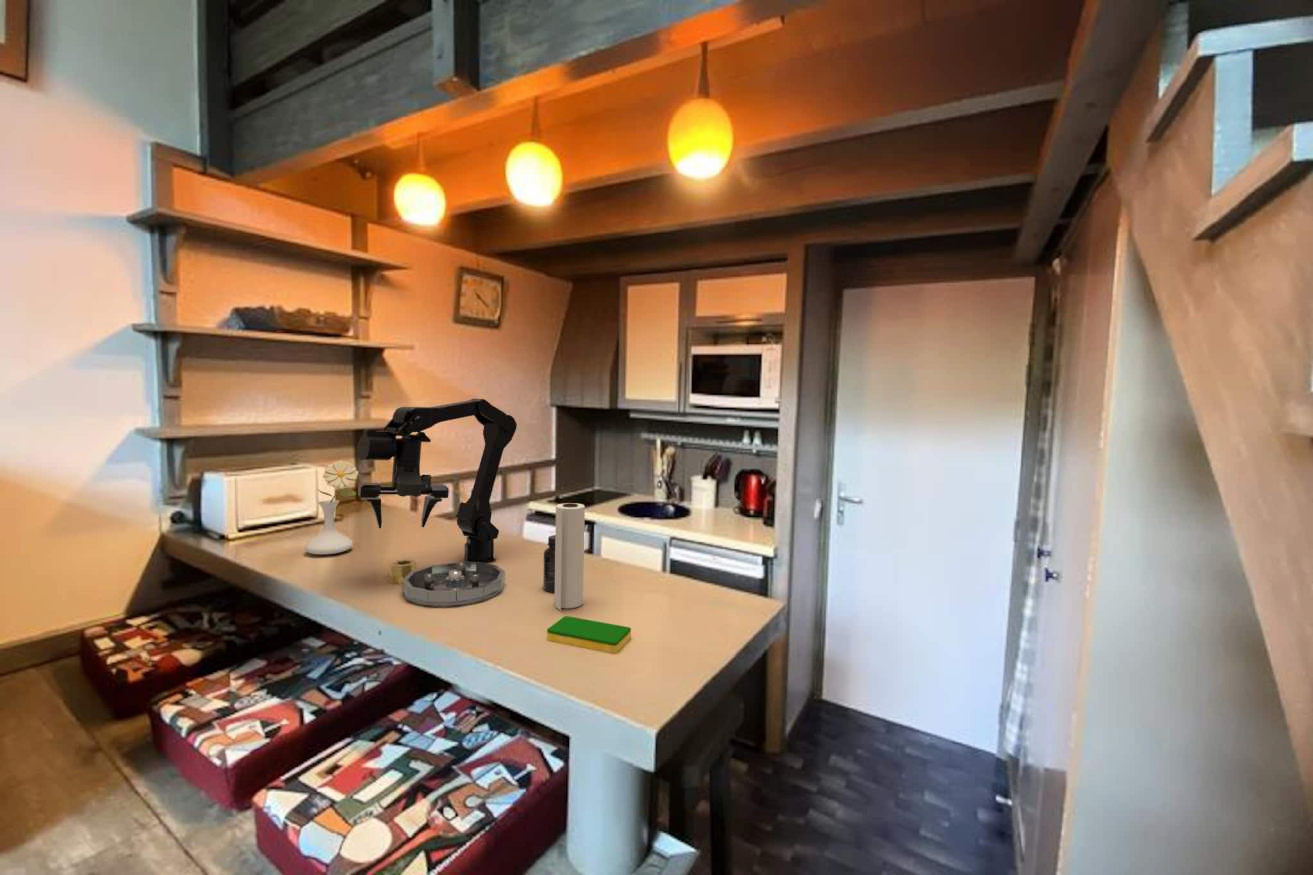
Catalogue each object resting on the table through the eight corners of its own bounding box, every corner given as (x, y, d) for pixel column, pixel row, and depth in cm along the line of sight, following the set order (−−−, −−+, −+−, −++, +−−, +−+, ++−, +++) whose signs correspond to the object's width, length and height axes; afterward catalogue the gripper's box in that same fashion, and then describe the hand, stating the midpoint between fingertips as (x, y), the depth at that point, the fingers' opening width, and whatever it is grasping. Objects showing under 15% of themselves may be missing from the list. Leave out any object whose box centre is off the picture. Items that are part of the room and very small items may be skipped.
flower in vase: (297, 558, 145) (295, 462, 143) (314, 546, 156) (313, 457, 154) (352, 557, 147) (351, 463, 145) (365, 545, 158) (364, 458, 156)
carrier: (485, 569, 140) (485, 552, 140) (517, 595, 123) (518, 575, 123) (394, 584, 128) (394, 565, 127) (416, 615, 111) (416, 593, 111)
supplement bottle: (579, 588, 129) (580, 537, 128) (555, 595, 124) (556, 542, 123) (561, 581, 133) (561, 531, 132) (537, 587, 128) (537, 536, 127)
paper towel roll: (571, 596, 123) (573, 501, 122) (588, 604, 119) (590, 505, 117) (543, 604, 118) (545, 504, 117) (560, 613, 114) (562, 509, 112)
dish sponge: (615, 656, 97) (616, 642, 97) (545, 642, 102) (546, 629, 101) (631, 639, 104) (631, 627, 103) (565, 627, 108) (565, 615, 108)
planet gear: (414, 573, 136) (414, 557, 135) (421, 580, 131) (421, 564, 130) (386, 577, 132) (386, 561, 132) (392, 585, 127) (392, 568, 127)
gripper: (365, 462, 118) (360, 535, 118) (456, 465, 128) (451, 533, 129) (360, 457, 128) (355, 525, 128) (445, 461, 138) (440, 524, 138)
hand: (401, 527), depth 130 cm, fingers open, 9 cm apart
